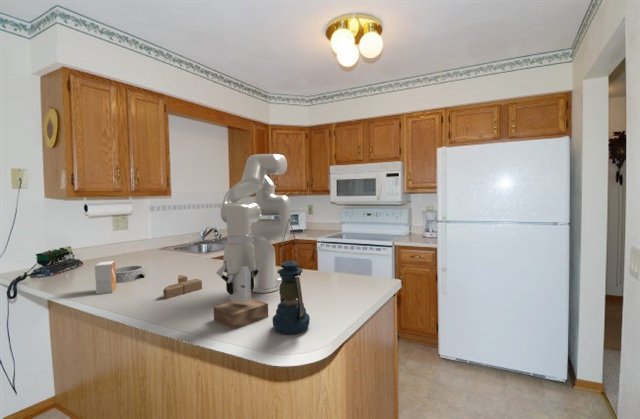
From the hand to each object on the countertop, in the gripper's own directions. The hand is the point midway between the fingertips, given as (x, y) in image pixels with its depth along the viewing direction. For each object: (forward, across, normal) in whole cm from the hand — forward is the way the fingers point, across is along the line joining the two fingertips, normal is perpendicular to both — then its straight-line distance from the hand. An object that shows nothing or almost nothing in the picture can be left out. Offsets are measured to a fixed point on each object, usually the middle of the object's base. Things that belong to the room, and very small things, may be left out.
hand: (240, 290), depth 113 cm
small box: (+10, +36, -70) cm, 79 cm away
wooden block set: (+10, +11, -50) cm, 52 cm away
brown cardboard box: (+10, 0, 0) cm, 10 cm away
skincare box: (+3, 0, 0) cm, 3 cm away
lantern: (+10, -9, +18) cm, 23 cm away
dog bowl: (+10, +26, -91) cm, 96 cm away
